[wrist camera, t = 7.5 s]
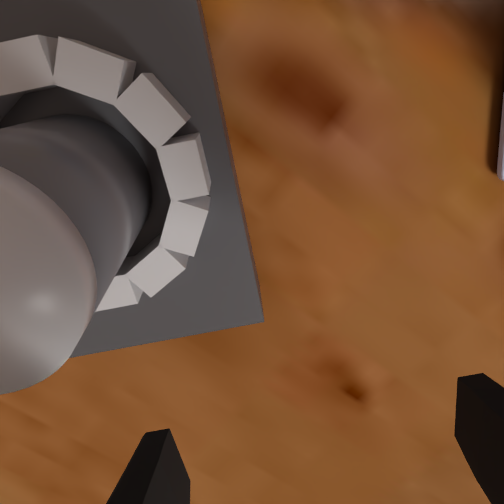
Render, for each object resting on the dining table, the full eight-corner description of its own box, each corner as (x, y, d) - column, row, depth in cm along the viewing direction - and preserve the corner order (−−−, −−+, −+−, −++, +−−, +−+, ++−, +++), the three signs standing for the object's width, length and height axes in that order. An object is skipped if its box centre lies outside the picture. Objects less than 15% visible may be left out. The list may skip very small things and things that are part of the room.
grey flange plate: (184, -75, 13) (162, -145, 9) (259, 285, 19) (267, 344, 15) (-103, -11, 13) (-255, -49, 9) (60, 322, 19) (13, 391, 15)
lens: (130, 103, 12) (24, 138, 6) (166, 240, 14) (115, 377, 8) (-19, 126, 12) (-286, 185, 6) (39, 260, 14) (-114, 411, 8)
